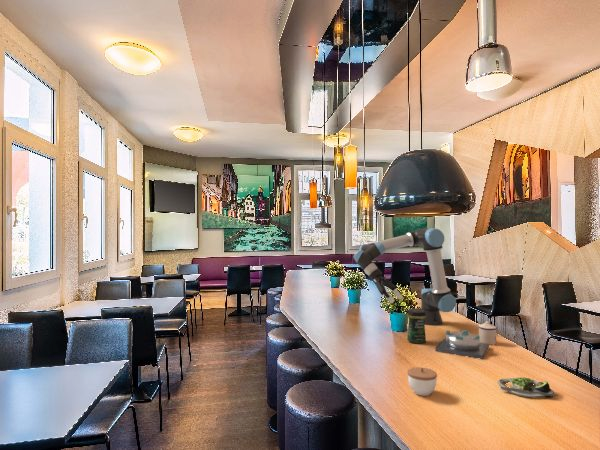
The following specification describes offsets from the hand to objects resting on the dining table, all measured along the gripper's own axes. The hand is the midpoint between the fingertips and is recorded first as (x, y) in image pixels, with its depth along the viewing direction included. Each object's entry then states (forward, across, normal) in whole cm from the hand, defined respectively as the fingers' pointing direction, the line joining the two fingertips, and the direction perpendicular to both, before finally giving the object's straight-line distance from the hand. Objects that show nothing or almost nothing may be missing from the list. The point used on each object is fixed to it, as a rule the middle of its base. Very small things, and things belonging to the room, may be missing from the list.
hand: (397, 300), depth 216 cm
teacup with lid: (+46, -22, +15) cm, 53 cm away
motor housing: (+40, 0, +9) cm, 41 cm away
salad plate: (+63, +39, +31) cm, 80 cm away
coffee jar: (+24, 0, -8) cm, 25 cm away
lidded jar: (+39, +64, +7) cm, 76 cm away
